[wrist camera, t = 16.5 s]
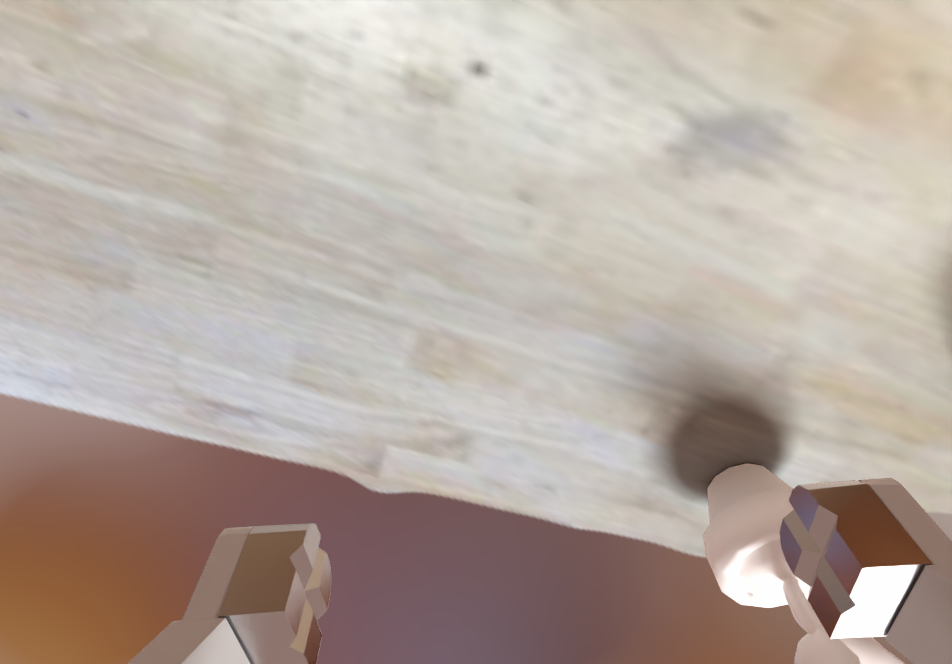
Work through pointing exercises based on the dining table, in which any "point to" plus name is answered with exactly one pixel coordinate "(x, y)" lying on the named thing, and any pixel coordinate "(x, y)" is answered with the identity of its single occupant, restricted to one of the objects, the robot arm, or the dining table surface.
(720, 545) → the potted plant
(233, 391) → the dining table surface
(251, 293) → the dining table surface
